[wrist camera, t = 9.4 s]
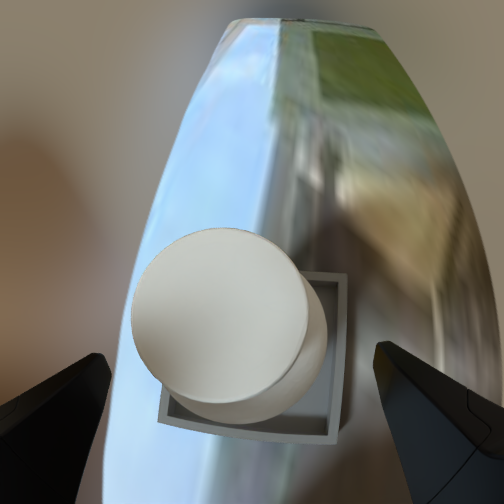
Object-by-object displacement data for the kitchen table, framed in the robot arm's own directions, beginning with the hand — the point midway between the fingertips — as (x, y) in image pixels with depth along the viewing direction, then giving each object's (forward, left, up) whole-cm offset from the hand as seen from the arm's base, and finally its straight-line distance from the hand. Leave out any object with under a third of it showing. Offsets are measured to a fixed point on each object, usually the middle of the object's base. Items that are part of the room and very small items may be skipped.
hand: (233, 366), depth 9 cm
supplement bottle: (+1, +1, -11) cm, 11 cm away
